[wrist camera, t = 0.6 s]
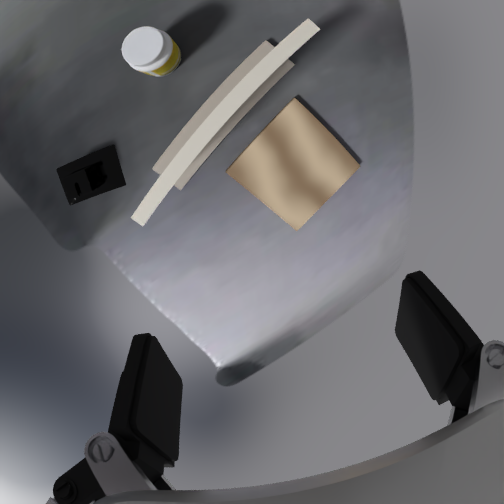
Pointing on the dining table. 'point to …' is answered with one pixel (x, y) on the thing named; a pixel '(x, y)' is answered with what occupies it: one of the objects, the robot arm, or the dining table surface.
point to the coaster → (293, 165)
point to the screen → (221, 115)
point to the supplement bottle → (151, 51)
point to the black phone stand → (91, 175)
